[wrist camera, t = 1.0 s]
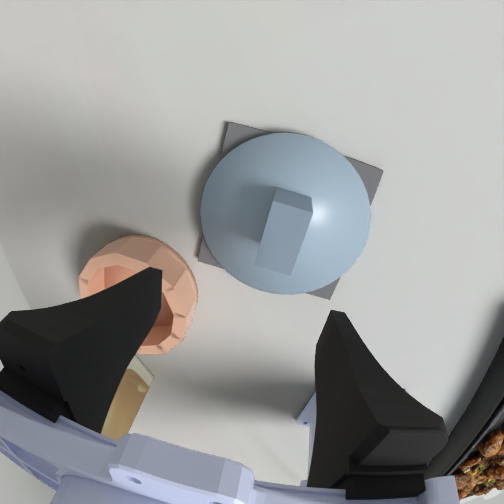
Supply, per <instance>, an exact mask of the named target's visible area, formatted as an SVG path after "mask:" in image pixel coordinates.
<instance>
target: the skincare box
mask: <svg viewBox="0 0 504 504" xmlns="http://www.w3.org/2000/svg"><path fill="white" fill-rule="evenodd" d="M153 379H154V377H153V376H152V374H151V373H150V372H149V371H148V370H147V369H146V367H145V366H144V365H143V364H142V363H141V361H140V360H139V359H138V358H137V357H136V356H134V357H133V359H132V360H131V362H130V364H129V366H128V367H127V369H126V371H125V373H124V376H123V378H122V380H121V382H120V384H119V387H118V389H117V391H116V394H115V396H114V399H113V401H112V404H111V406H110V409H109V412H108V414H107V417H106V420H105V423H104V426H103V429H102V432H101V435H104V436H106V437H108V438H111V439H113V440H116V441H118V442H119V440H120V438H121V436H122V435H125V434H128V432H129V430H130V428H131V426H132V423H133V421H134V419H135V417H136V415H137V413H138V410H139V408H140V406H141V404H142V402H143V400H144V397H145V395H146V393H147V391H148V389H149V387H150V385H151V383H152V381H153Z"/></svg>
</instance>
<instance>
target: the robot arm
mask: <svg viewBox="0 0 504 504" xmlns="http://www.w3.org/2000/svg"><path fill="white" fill-rule="evenodd" d="M162 272H163V270H160V269H156V268H153V267H148V268H146V269H144V270H142V271H140V272H138V273H136V274H134V275H132V276H131V277H129V278H127V279H125V280H123V281H121V282H119V283H117V284H115V285H113V286H111V287H109V288H107V289H104V290H102V291H100V292H98V293H96V294H93V295H91V296H88V297H85V298H82V299H79V300H76V301H73V302H69V303H65V304H62V305H58V306H53V307H48V308H42V309H35V310H23V311H11V312H10V313H9V314H8V315H7V316H6V317H5V318H4V319H3V320H2V321H1V322H0V360H1V362H2V364H3V366H4V368H3V369H2V371H1V372H0V452H2V453H3V454H4V455H5V456H6V457H8V458H9V459H10V460H12V461H13V462H14V463H16V464H17V465H18V466H20V467H21V468H23V469H24V470H25V471H27V472H28V473H30V474H31V475H32V476H34V477H35V478H37V479H38V480H40V481H41V482H43V483H45V484H46V485H48V486H49V487H51V488H52V489H54V490H56V493H55V495H54V497H53V499H52V501H51V503H50V504H460V503H459V497H458V492H457V486H456V481H455V476H453V475H451V476H443V477H435V478H430V479H427V480H425V481H424V475H423V474H425V473H426V472H427V465H426V463H427V462H428V461H430V460H431V459H432V458H433V457H434V456H435V455H437V454H438V453H439V452H440V451H441V450H442V449H443V448H444V447H445V445H446V443H447V441H448V434H447V431H446V427H445V424H444V420H443V418H442V417H441V416H439V415H437V414H436V413H434V412H433V411H431V410H430V409H428V408H426V407H425V406H424V405H422V404H421V403H420V402H418V401H417V400H416V399H414V398H413V397H412V396H411V395H409V393H408V391H405V390H404V389H403V388H402V387H400V386H399V385H398V384H397V383H396V382H395V381H394V380H393V379H392V378H391V377H390V376H389V374H388V373H387V372H386V371H385V370H384V369H383V368H382V367H381V365H380V364H379V363H378V362H377V360H376V359H375V358H374V356H373V355H372V354H371V352H370V351H369V350H368V348H367V347H366V345H365V344H364V342H363V341H362V339H361V338H360V336H359V335H358V333H357V331H356V330H355V328H354V327H353V325H352V323H351V322H350V320H349V319H348V317H347V315H346V314H345V312H340V311H335V310H331V311H330V313H329V316H328V318H327V321H326V323H325V325H324V328H323V330H322V333H321V335H320V337H319V340H318V342H317V344H316V354H315V386H316V392H315V393H314V395H313V396H312V398H311V399H310V401H309V402H308V404H307V405H306V406H305V408H304V409H303V411H302V412H301V414H300V415H299V417H298V418H297V421H296V422H297V423H298V424H300V425H305V426H310V437H309V460H308V478H307V480H303V481H301V484H300V486H292V485H284V484H276V483H269V482H263V481H257V480H254V479H255V478H254V473H253V471H252V470H250V469H249V468H247V467H246V466H244V465H243V464H241V463H239V462H236V461H233V460H230V459H227V458H223V457H218V456H214V455H210V454H206V453H202V452H198V451H195V450H191V449H187V448H184V447H180V446H177V445H174V444H171V443H167V442H164V441H161V440H158V439H155V438H152V437H149V436H145V435H140V434H136V433H133V434H125V435H122V436H121V438H120V440H119V442H118V441H116V440H113V439H111V438H108V437H106V436H104V435H101V432H102V429H103V426H104V423H105V420H106V417H107V414H108V412H109V409H110V406H111V404H112V401H113V399H114V396H115V394H116V391H117V389H118V387H119V384H120V382H121V380H122V378H123V376H124V373H125V371H126V369H127V367H128V366H129V364H130V362H131V360H132V359H133V357H134V356H135V354H136V353H137V351H138V349H139V348H140V346H141V345H142V343H143V341H144V340H145V338H146V337H147V335H148V334H149V332H150V330H151V329H152V327H153V325H154V323H155V321H156V319H157V317H158V314H159V312H160V310H161V300H162Z"/></svg>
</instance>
